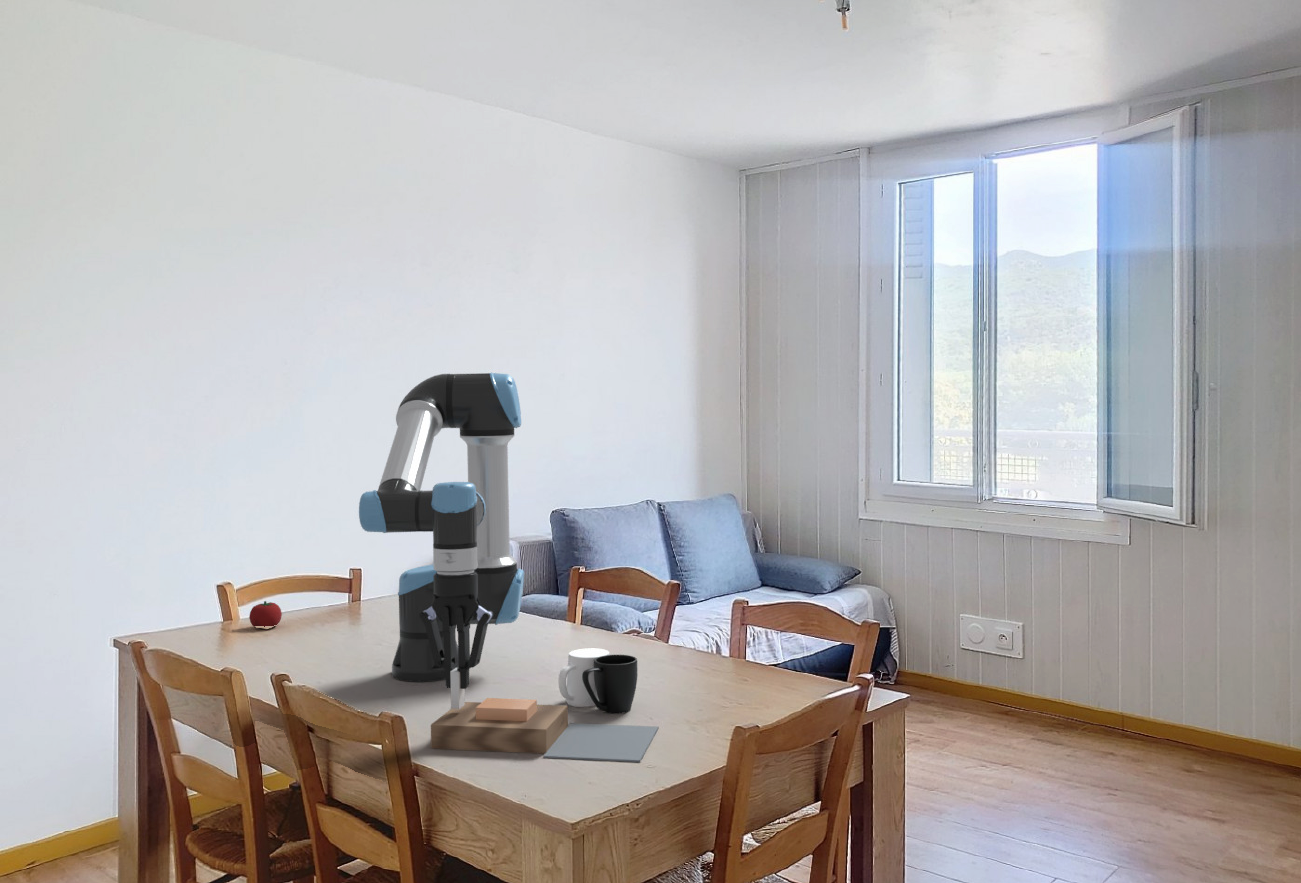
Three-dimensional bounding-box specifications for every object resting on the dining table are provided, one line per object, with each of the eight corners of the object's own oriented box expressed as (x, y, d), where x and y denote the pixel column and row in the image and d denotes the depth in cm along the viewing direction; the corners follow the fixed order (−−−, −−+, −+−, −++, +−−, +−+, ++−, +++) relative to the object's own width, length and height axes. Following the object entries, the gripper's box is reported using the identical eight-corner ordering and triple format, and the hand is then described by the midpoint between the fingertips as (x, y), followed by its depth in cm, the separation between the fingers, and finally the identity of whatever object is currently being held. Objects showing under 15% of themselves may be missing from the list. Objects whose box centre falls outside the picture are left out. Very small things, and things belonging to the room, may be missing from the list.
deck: (431, 748, 174) (430, 724, 174) (460, 723, 188) (460, 701, 187) (546, 753, 170) (546, 729, 170) (567, 728, 184) (567, 705, 184)
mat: (543, 757, 168) (543, 755, 168) (570, 724, 186) (570, 723, 186) (640, 762, 166) (640, 760, 166) (658, 728, 183) (658, 726, 183)
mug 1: (593, 645, 208) (620, 651, 202) (594, 691, 208) (621, 699, 202) (547, 656, 199) (574, 662, 194) (547, 704, 200) (574, 712, 194)
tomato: (275, 631, 271) (274, 603, 271) (245, 631, 272) (244, 604, 271) (286, 624, 279) (286, 598, 279) (257, 625, 280) (256, 598, 279)
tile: (475, 719, 176) (475, 707, 176) (487, 709, 182) (487, 698, 182) (526, 721, 175) (526, 709, 175) (536, 711, 181) (536, 699, 181)
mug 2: (569, 713, 193) (569, 663, 193) (618, 701, 201) (617, 652, 201) (598, 723, 187) (597, 670, 187) (646, 709, 195) (646, 659, 195)
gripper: (411, 574, 177) (413, 711, 177) (484, 575, 175) (486, 714, 175) (428, 567, 184) (430, 699, 185) (498, 568, 182) (500, 702, 183)
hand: (457, 706), depth 180 cm, fingers closed
